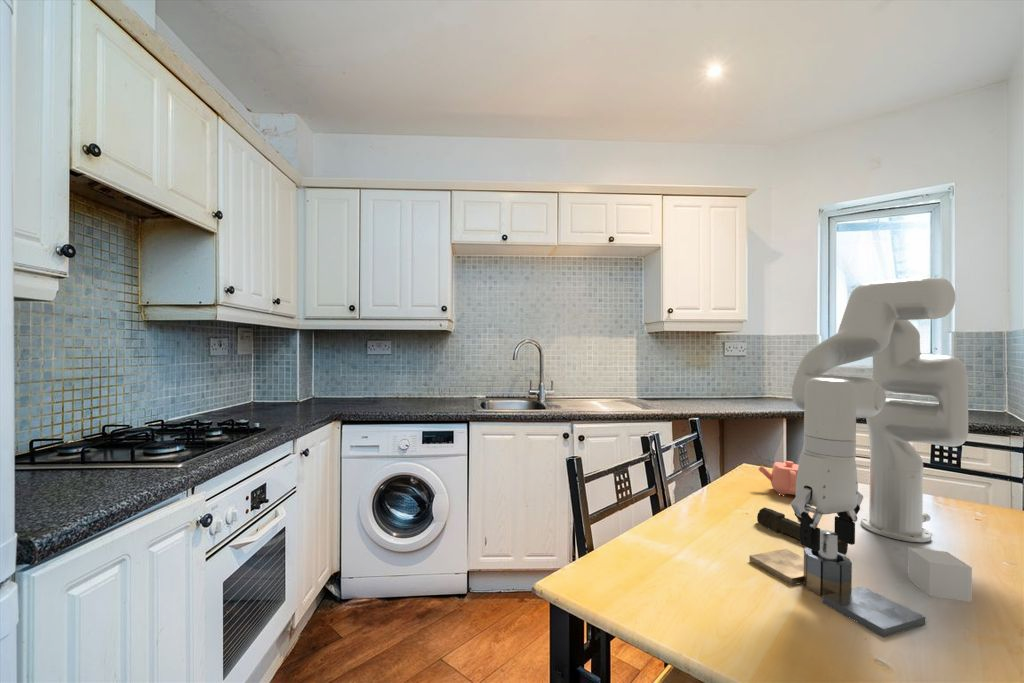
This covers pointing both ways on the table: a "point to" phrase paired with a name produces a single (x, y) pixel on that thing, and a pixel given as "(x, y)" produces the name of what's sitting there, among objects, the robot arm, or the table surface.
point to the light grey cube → (940, 574)
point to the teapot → (782, 477)
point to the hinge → (839, 589)
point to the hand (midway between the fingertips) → (827, 544)
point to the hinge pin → (828, 545)
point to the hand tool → (787, 526)
